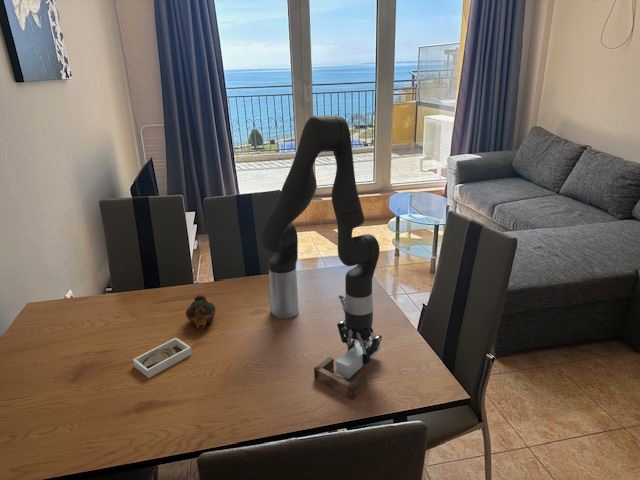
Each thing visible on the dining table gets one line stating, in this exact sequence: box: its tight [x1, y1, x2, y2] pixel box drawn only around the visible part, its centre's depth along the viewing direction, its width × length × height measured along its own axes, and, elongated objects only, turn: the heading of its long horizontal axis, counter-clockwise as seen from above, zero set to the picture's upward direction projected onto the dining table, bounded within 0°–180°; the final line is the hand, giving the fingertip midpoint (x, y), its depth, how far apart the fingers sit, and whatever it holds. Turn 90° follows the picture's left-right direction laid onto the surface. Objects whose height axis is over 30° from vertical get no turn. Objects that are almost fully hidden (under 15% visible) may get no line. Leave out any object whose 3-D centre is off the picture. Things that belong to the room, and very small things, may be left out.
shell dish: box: [132, 337, 193, 379], centre depth 131 cm, size 8×14×2 cm, turn 139°
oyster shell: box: [142, 347, 178, 369], centre depth 130 cm, size 6×4×10 cm
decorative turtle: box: [185, 292, 216, 330], centre depth 150 cm, size 10×15×8 cm, turn 19°
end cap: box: [313, 356, 368, 400], centre depth 119 cm, size 13×6×4 cm, turn 49°
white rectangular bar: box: [335, 337, 381, 379], centre depth 124 cm, size 4×16×4 cm, turn 142°
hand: (359, 359), depth 125 cm, fingers closed on white rectangular bar, 4 cm apart
